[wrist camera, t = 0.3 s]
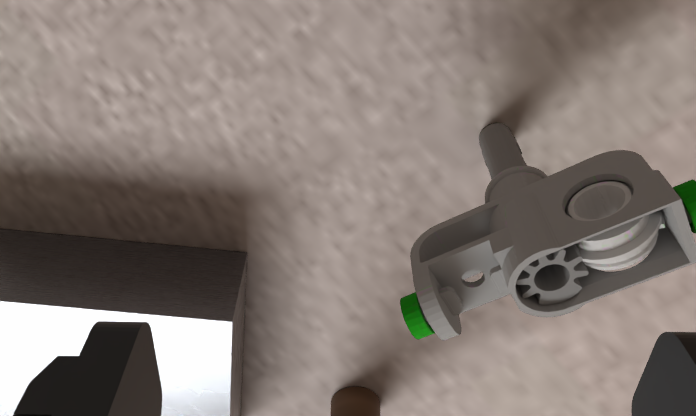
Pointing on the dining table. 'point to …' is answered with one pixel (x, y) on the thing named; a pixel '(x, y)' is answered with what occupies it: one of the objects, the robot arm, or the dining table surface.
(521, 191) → the mechanical component
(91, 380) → the robot arm
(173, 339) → the grey square hole block
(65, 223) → the dining table surface
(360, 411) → the pin
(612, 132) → the dining table surface
